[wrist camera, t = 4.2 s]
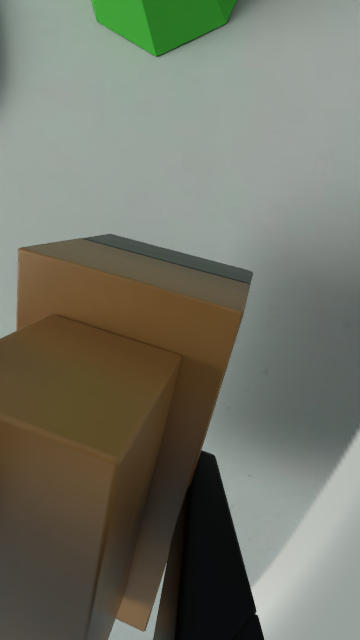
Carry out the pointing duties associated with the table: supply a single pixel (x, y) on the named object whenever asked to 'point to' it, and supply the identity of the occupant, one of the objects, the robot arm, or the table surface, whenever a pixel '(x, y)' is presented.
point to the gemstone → (162, 20)
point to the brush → (104, 425)
